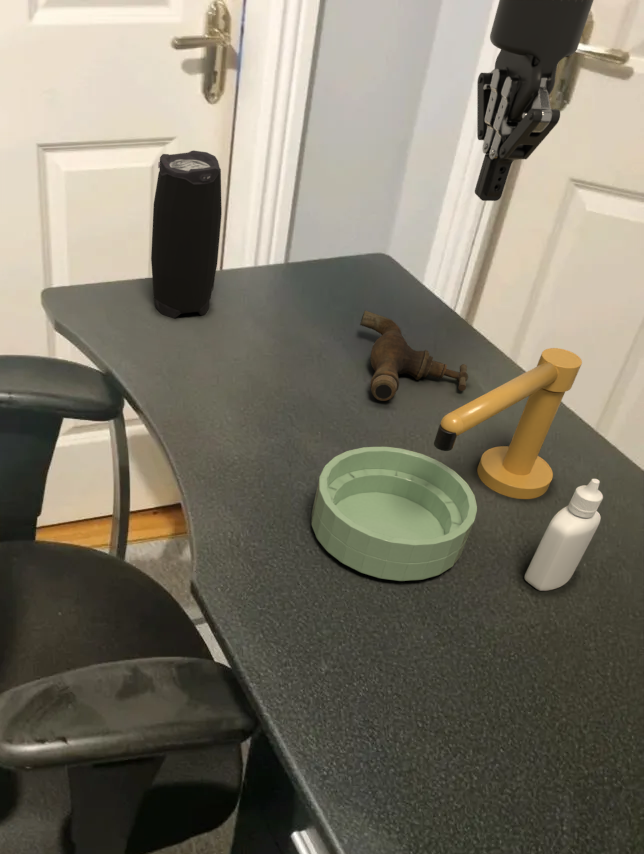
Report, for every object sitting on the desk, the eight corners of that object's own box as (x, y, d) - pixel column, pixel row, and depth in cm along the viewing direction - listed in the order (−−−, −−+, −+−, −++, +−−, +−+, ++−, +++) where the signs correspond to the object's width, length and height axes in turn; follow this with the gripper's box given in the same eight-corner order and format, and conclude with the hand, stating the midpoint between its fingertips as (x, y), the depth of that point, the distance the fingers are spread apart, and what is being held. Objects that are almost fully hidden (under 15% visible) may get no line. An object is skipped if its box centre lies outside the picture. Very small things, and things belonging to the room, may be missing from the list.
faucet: (354, 365, 103) (474, 400, 102) (368, 298, 114) (476, 330, 114) (342, 397, 106) (457, 431, 106) (357, 329, 118) (462, 360, 117)
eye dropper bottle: (513, 562, 87) (556, 466, 78) (565, 561, 87) (613, 466, 79) (529, 592, 83) (576, 496, 75) (583, 591, 84) (635, 495, 76)
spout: (544, 371, 91) (555, 344, 88) (577, 388, 89) (589, 360, 86) (420, 438, 80) (429, 409, 78) (454, 459, 78) (465, 429, 76)
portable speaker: (138, 309, 119) (141, 160, 106) (174, 286, 125) (181, 142, 111) (190, 328, 117) (200, 177, 103) (224, 303, 122) (238, 158, 109)
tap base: (529, 455, 100) (568, 364, 92) (560, 497, 95) (604, 404, 86) (466, 458, 99) (499, 365, 91) (493, 501, 94) (532, 406, 85)
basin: (429, 484, 95) (443, 443, 91) (484, 581, 84) (502, 539, 80) (294, 491, 92) (302, 449, 89) (333, 591, 82) (344, 548, 78)
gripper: (631, 3, 67) (551, 225, 80) (556, -30, 77) (494, 174, 89) (544, -2, 66) (476, 224, 78) (478, -35, 75) (427, 173, 88)
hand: (486, 197), depth 84 cm, fingers closed
